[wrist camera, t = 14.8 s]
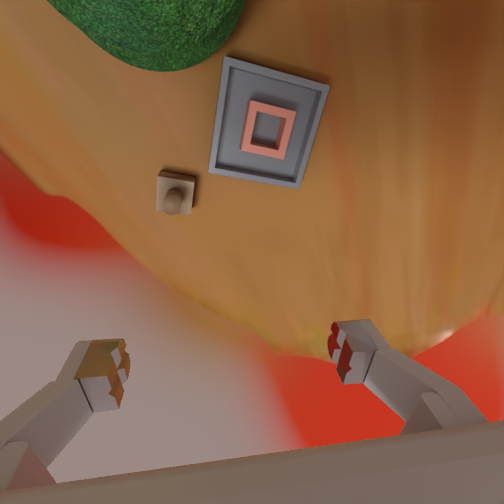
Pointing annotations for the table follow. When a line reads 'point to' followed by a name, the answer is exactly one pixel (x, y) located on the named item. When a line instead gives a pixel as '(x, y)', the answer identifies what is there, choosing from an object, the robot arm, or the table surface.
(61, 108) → the table surface
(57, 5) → the decorative tree
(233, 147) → the tray
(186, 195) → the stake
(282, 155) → the ring
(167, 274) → the table surface
